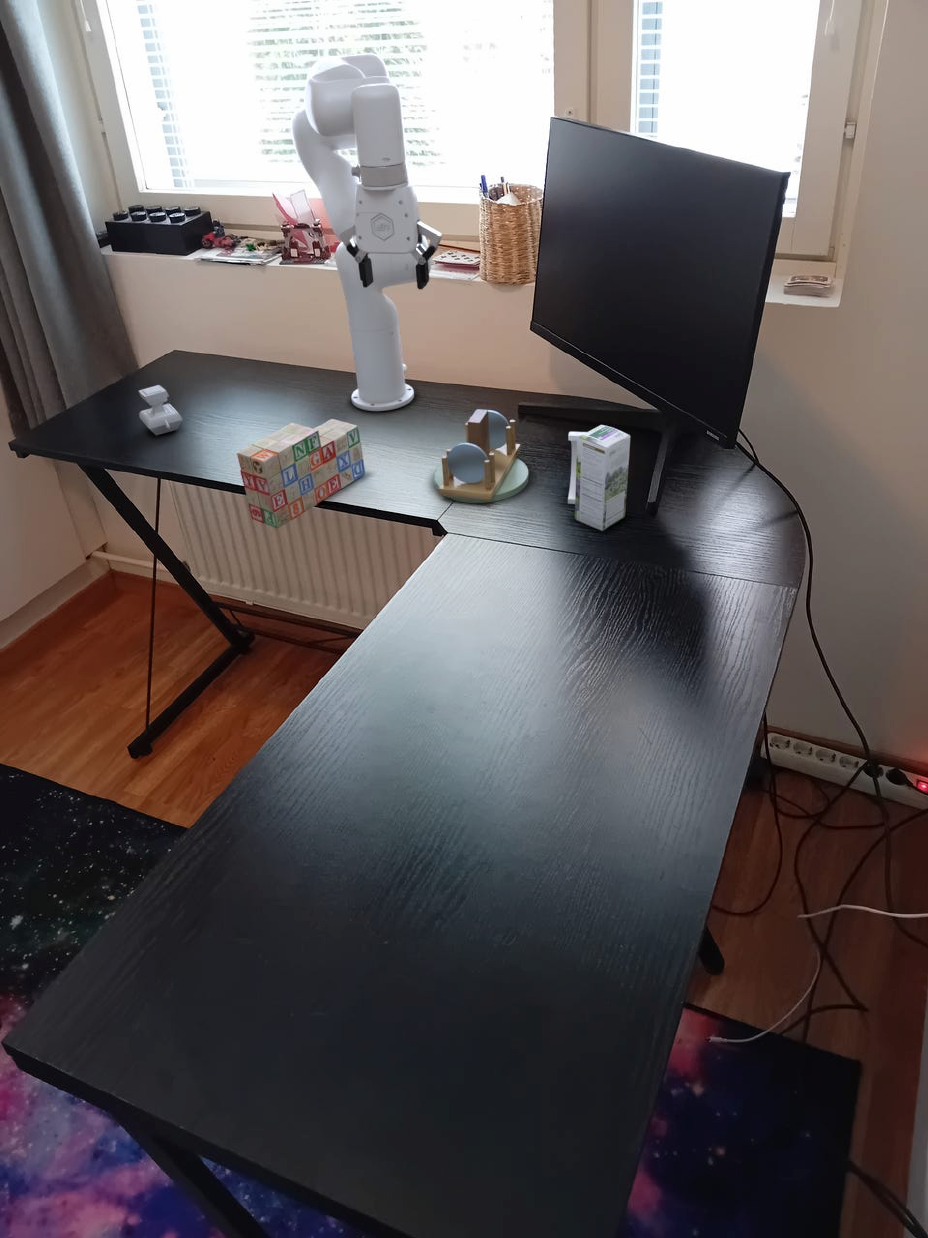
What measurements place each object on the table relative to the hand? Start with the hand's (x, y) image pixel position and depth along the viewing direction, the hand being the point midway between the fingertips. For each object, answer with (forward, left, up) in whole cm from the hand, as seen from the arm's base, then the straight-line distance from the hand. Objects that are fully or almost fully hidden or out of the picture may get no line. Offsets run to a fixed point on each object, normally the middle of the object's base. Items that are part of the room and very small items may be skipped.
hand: (395, 285), depth 157 cm
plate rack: (+12, +17, -27) cm, 34 cm away
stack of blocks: (+23, -10, -28) cm, 38 cm away
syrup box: (+21, +39, -28) cm, 53 cm away
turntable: (+12, +17, -28) cm, 35 cm away
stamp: (+4, -50, -28) cm, 58 cm away
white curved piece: (+14, +35, -28) cm, 47 cm away
